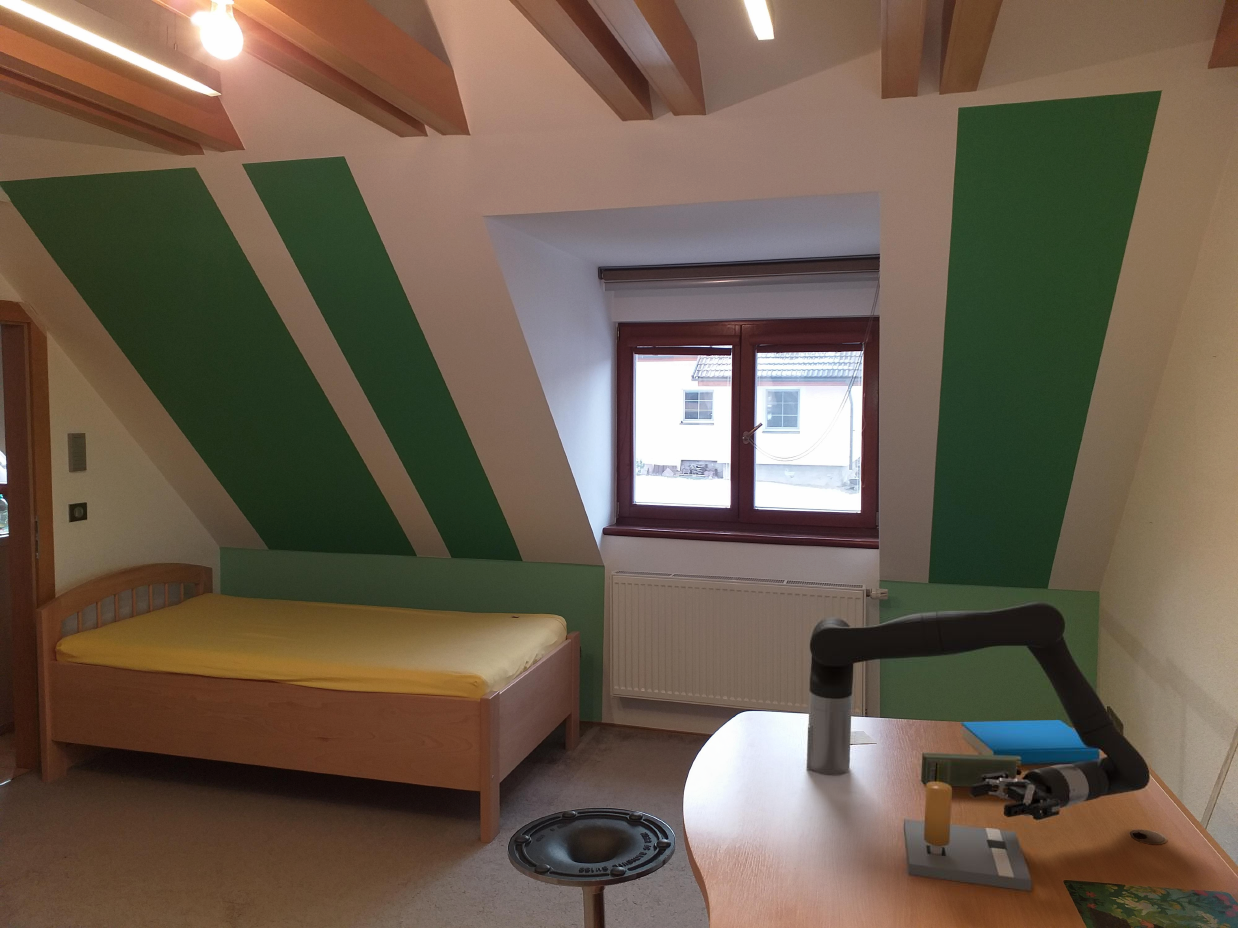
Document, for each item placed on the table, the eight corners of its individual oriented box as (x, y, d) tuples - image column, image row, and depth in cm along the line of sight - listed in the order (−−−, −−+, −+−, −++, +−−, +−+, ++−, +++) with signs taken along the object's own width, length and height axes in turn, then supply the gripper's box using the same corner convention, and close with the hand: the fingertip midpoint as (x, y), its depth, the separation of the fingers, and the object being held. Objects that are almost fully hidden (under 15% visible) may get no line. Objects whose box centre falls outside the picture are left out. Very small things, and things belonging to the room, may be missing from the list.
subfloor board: (908, 874, 164) (909, 862, 164) (903, 828, 180) (904, 817, 180) (1030, 890, 159) (1031, 878, 159) (1014, 841, 175) (1015, 831, 175)
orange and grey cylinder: (923, 865, 167) (927, 790, 165) (922, 853, 171) (925, 780, 170) (949, 868, 166) (953, 793, 164) (947, 856, 170) (950, 782, 168)
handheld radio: (919, 779, 202) (1038, 784, 200) (923, 786, 199) (1044, 791, 197) (921, 750, 201) (1040, 754, 199) (925, 757, 198) (1046, 761, 196)
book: (960, 721, 226) (1059, 717, 228) (959, 739, 226) (1058, 734, 228) (994, 750, 209) (1100, 746, 211) (994, 769, 209) (1100, 764, 211)
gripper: (1028, 753, 183) (961, 765, 177) (1087, 783, 170) (1018, 797, 164) (1026, 789, 184) (960, 803, 178) (1085, 822, 171) (1016, 838, 165)
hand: (988, 800), depth 171 cm, fingers open, 8 cm apart
